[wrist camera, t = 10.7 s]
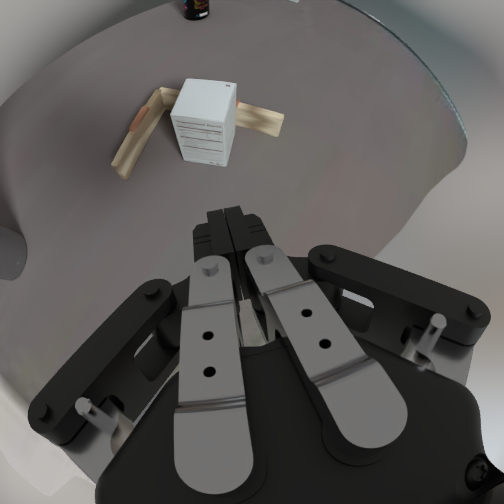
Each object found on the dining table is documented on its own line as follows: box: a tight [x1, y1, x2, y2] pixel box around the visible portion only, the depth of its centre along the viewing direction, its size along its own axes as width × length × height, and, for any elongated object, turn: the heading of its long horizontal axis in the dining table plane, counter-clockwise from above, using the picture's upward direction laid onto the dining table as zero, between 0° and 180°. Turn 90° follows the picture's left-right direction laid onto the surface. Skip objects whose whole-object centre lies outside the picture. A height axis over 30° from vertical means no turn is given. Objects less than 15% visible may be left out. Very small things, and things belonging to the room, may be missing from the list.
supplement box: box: [170, 79, 237, 167], centre depth 38 cm, size 7×7×13 cm
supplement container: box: [183, 0, 210, 20], centre depth 47 cm, size 7×7×10 cm
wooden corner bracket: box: [111, 87, 284, 180], centre depth 41 cm, size 23×17×6 cm
